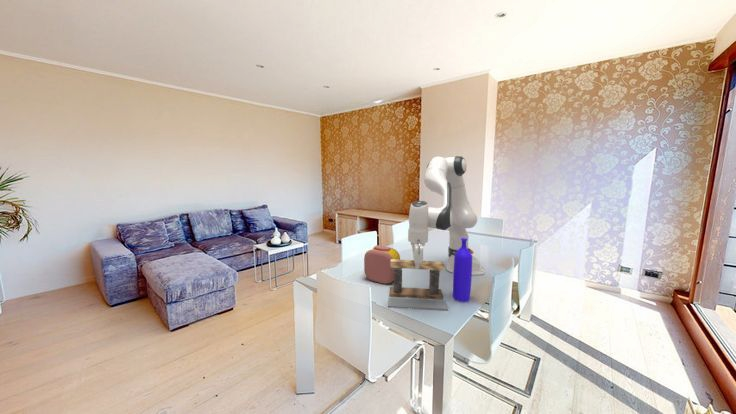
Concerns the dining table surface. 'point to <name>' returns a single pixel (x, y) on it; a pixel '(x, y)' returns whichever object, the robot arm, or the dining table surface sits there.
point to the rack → (416, 292)
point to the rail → (411, 265)
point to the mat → (417, 303)
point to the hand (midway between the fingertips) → (416, 266)
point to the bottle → (462, 273)
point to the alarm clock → (380, 264)
